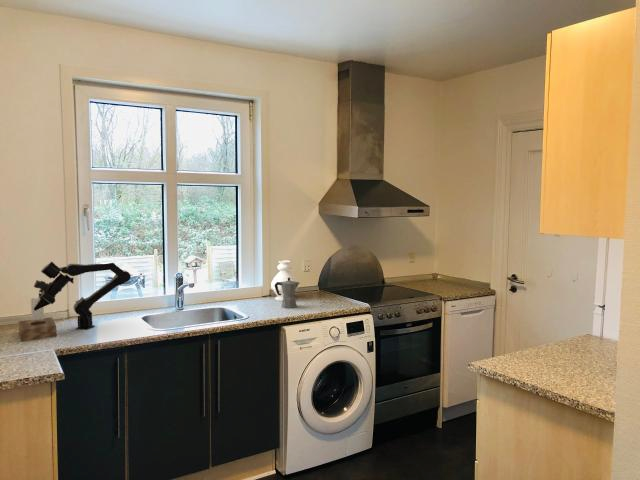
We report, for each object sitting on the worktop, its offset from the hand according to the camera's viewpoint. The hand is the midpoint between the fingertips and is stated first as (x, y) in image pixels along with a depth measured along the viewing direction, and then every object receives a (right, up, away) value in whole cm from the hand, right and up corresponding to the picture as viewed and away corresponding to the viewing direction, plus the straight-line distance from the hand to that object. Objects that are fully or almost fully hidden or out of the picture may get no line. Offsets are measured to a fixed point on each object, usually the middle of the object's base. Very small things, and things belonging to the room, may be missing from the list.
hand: (34, 308), depth 246 cm
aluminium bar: (+1, -5, +1) cm, 5 cm away
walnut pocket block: (+1, -13, +2) cm, 13 cm away
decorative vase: (+117, -5, +85) cm, 145 cm away
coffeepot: (+121, -7, +60) cm, 135 cm away
